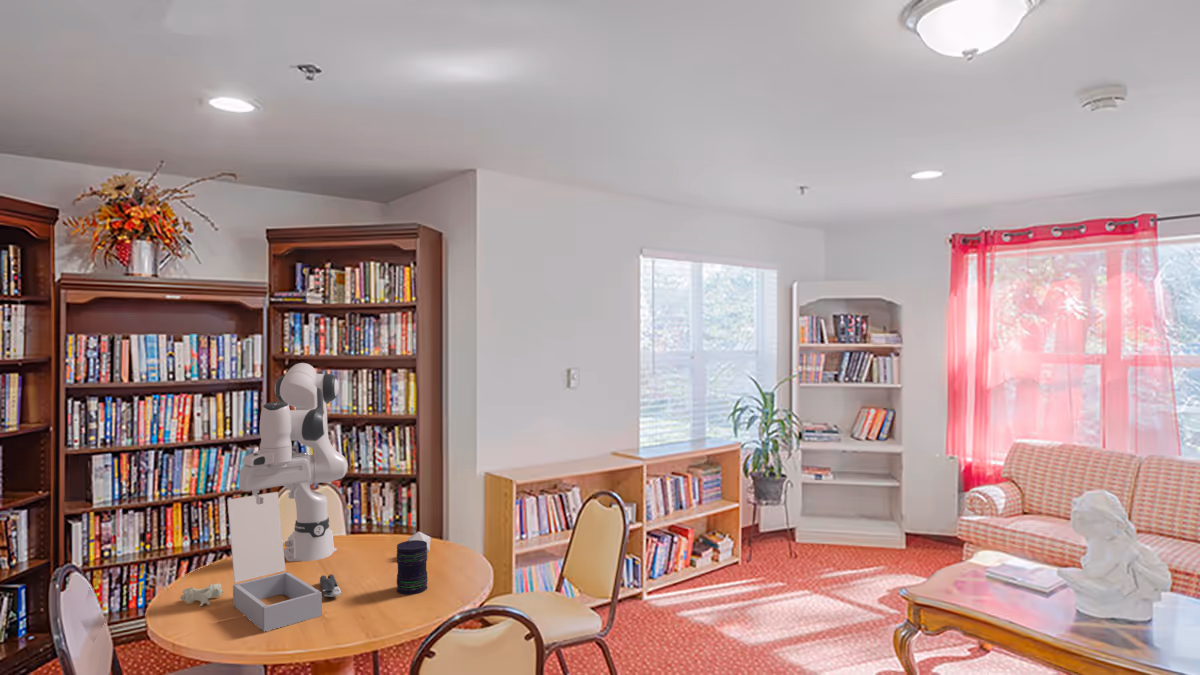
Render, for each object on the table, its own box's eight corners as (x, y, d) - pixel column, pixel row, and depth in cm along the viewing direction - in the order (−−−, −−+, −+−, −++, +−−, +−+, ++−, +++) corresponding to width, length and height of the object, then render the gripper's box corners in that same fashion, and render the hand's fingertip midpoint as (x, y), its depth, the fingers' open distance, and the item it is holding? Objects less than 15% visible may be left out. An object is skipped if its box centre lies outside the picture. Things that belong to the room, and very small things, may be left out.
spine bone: (182, 616, 207) (183, 602, 206) (179, 599, 214) (179, 585, 214) (226, 608, 214) (227, 594, 213) (221, 592, 222) (222, 578, 221)
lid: (235, 582, 211) (234, 582, 211) (285, 570, 222) (284, 570, 222) (228, 499, 215) (227, 499, 216) (277, 491, 226) (276, 491, 227)
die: (435, 556, 259) (435, 530, 259) (417, 562, 251) (417, 535, 251) (419, 552, 263) (419, 526, 263) (401, 559, 256) (401, 532, 256)
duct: (233, 607, 210) (233, 584, 210) (287, 592, 222) (287, 571, 222) (264, 632, 192) (264, 608, 192) (321, 615, 203) (321, 592, 203)
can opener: (342, 600, 216) (342, 580, 216) (325, 603, 213) (324, 583, 213) (334, 581, 233) (334, 563, 233) (318, 584, 230) (318, 565, 230)
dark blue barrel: (433, 589, 224) (433, 544, 224) (406, 597, 217) (406, 551, 217) (417, 582, 231) (417, 538, 231) (391, 589, 224) (390, 544, 224)
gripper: (306, 450, 216) (306, 493, 217) (236, 458, 202) (237, 505, 202) (314, 452, 212) (314, 496, 212) (244, 461, 197) (244, 508, 197)
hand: (276, 500), depth 207 cm, fingers open, 8 cm apart
